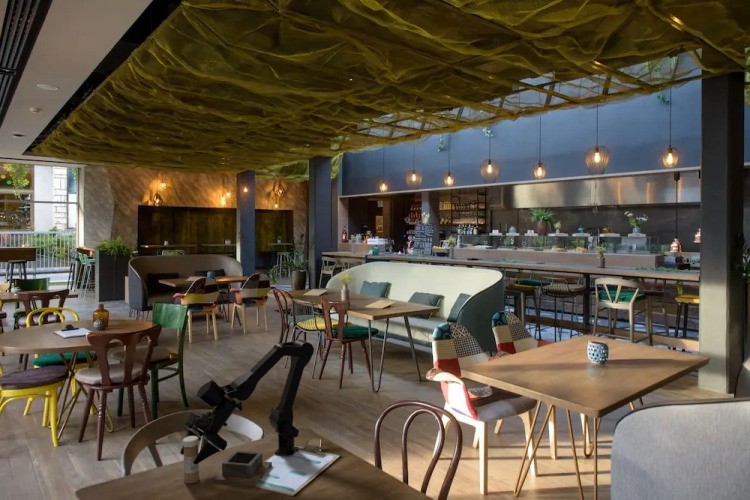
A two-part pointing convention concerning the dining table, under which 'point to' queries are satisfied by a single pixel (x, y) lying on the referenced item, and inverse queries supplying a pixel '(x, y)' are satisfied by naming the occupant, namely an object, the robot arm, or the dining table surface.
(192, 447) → the sprinkles bottle
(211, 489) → the dining table surface
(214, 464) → the dining table surface
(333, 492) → the dining table surface
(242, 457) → the socket board
